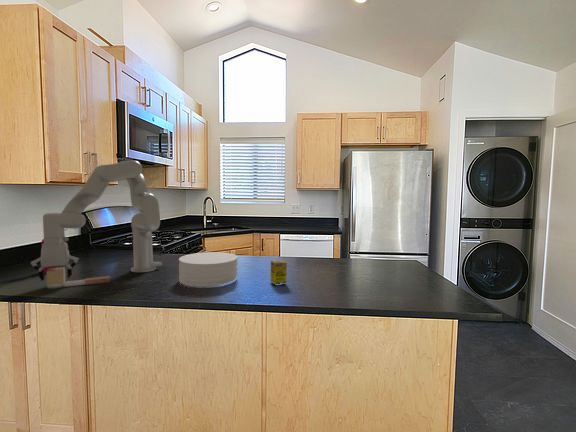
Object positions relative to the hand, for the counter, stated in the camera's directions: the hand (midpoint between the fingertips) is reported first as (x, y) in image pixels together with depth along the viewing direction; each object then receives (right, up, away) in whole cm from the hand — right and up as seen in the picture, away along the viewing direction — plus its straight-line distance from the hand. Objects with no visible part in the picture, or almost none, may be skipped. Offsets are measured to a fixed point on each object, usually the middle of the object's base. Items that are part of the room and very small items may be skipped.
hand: (56, 278), depth 142 cm
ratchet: (+7, -4, +4) cm, 9 cm away
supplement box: (+100, -5, +10) cm, 100 cm away
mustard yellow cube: (0, -2, 0) cm, 2 cm away
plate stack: (+65, -4, +15) cm, 67 cm away
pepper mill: (-22, -2, +25) cm, 33 cm away
